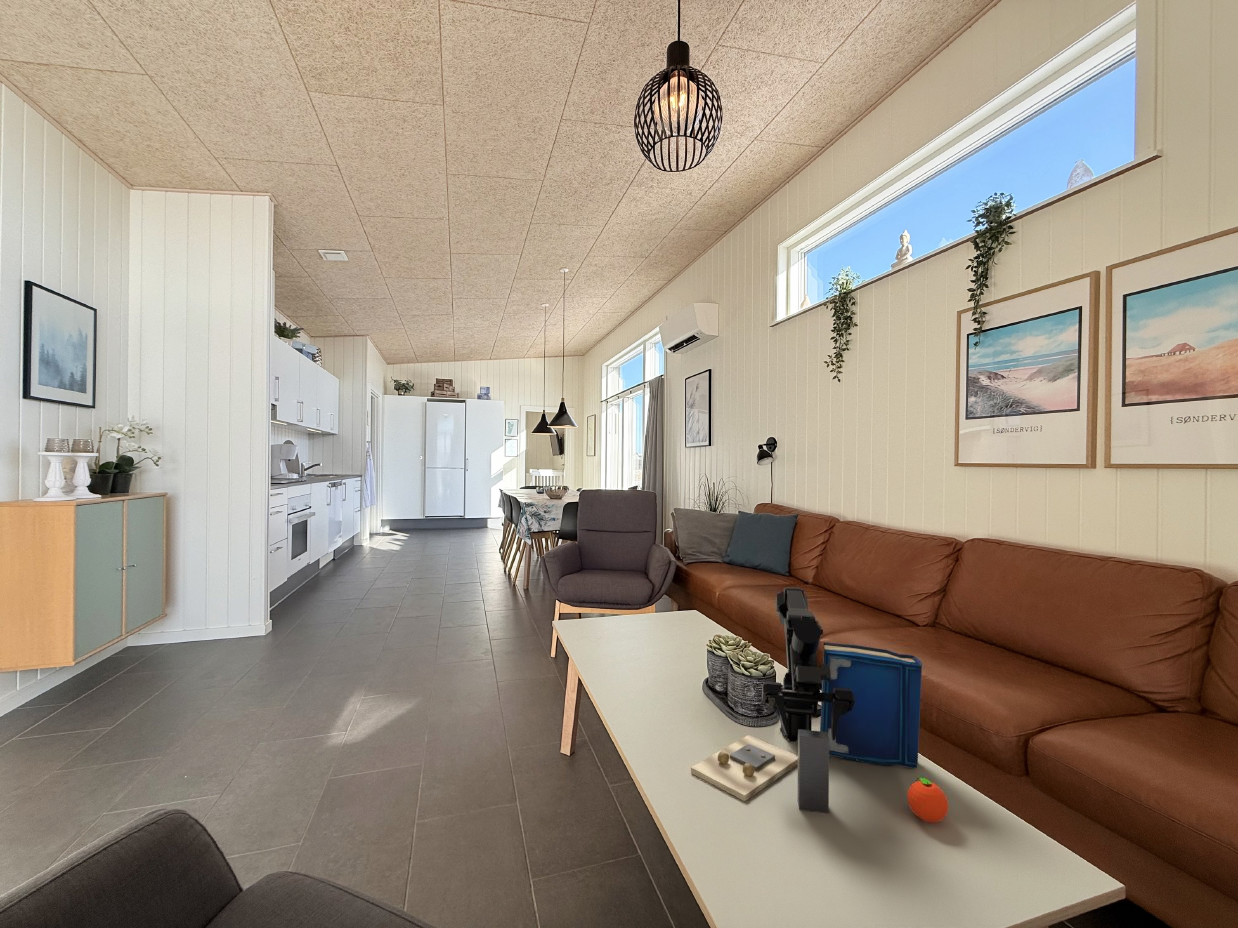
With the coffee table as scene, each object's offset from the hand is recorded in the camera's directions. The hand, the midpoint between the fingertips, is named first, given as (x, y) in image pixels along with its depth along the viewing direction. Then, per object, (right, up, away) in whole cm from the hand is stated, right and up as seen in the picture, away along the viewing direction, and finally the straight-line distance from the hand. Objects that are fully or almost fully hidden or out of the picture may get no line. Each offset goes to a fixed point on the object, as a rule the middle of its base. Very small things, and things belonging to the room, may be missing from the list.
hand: (810, 737), depth 115 cm
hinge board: (-11, -12, +10) cm, 19 cm away
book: (+19, -12, +15) cm, 27 cm away
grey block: (-1, -12, -3) cm, 12 cm away
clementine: (+20, -12, -7) cm, 24 cm away
